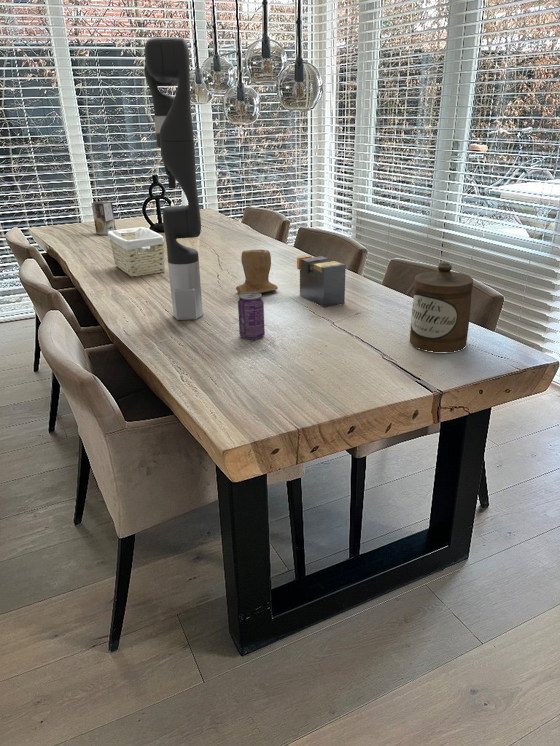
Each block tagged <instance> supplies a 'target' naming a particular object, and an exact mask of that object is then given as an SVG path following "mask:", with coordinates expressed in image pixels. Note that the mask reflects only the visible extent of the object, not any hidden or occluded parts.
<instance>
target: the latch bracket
mask: <svg viewBox="0 0 560 746" xmlns="http://www.w3.org/2000/svg"><path fill="white" fill-rule="evenodd" d="M313 265H314V266H313ZM310 266H313V270H310ZM346 268H347V267H346V264H345V263H341V262H339V261H337V260H336V261H335V260H334V261H333V260H332V261H329V258H328V257H325V256H322V255H320V256H314V257H313V256H312V258H305V259H301V270H299V296H300V295H301V296H300V297H303V298H304V299H306V300H308V301H309V302H312V303H313V302H314V304H315V303H316V305H317V304H318V305H317V306H319V305H320V306H319V307H321V308H323V309H325V308H331V307H335V306H341V305H345V303H346V302H345V299H346V298H345V297H346ZM340 304H341V305H340Z"/></svg>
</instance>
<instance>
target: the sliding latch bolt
mask: <svg viewBox="0 0 560 746" xmlns="http://www.w3.org/2000/svg"><path fill="white" fill-rule="evenodd" d="M312 257H313V255H309V254H308V255H304V256H302V255H301V256H298V257H296V269H297V270H299V271H300V270H301V259H305V258H312ZM313 266H314V265H313ZM313 266H310V270H313Z"/></svg>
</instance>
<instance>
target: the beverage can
mask: <svg viewBox="0 0 560 746" xmlns="http://www.w3.org/2000/svg"><path fill="white" fill-rule="evenodd" d="M238 295H239V294H238ZM238 297H239V299H238V301H237V310H238V314H237V315H238V327H239V328H238V330H239V336H240V337H241V338H244V339H246V340H256V338H257V339H259V338H262V337H264V335H265V331H266V330H265V306H264V305H265V303H264V299H263V298H262V297H263V295H262V293H256V292H247V293H242V294H240V295H239V296H238Z"/></svg>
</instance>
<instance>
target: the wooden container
mask: <svg viewBox="0 0 560 746" xmlns="http://www.w3.org/2000/svg"><path fill="white" fill-rule="evenodd" d="M452 269H453V267H452V264H450V263H449V262H445V261H444V262H441V263H440V264H438V265H437V270H438V271H437V270H431V271H426V272H424V271H423V272H421V273H418V274H416V275H415V276H414V283H413V289H414V291H413V300H412V308H411V317H410V318H411V319H410V331H409V343H411V344H412V345H413V346H412V345H411V344H410V345H411V346H412V347H414V346H415V347H417V348H420V349H423V350H427V351H433V352H454V351H458V350H461V349H463V348H464V347H465V346H466V347H467V343H468V335H469V334H468V333H469V326H470V319H471V318H470V317H471V307H472V306H471V303H472V294H473V285H474V279H473V278H472V277H471V276H470V275H469V274H465V273H463V272H462V273H461V272H458V271H457V272H456V271H452ZM415 347H414V348H415ZM466 347H465V348H466ZM417 348H416V349H417ZM465 348H464V349H465ZM464 349H463V350H464ZM461 351H462V350H461ZM458 352H459V351H458ZM454 353H455V352H454Z"/></svg>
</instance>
